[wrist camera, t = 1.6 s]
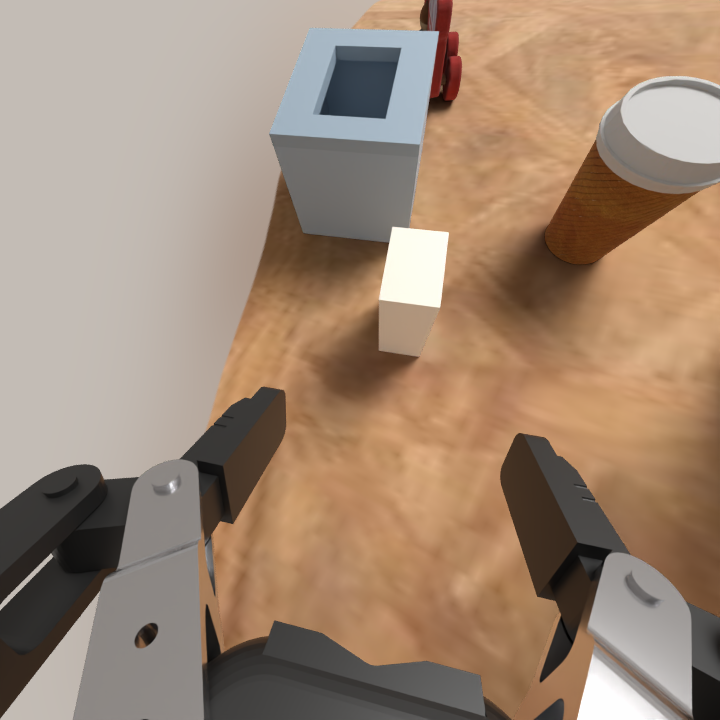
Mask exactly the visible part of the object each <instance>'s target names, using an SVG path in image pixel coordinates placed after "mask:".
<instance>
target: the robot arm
mask: <svg viewBox="0 0 720 720" xmlns="http://www.w3.org/2000/svg"><path fill="white" fill-rule="evenodd" d="M285 429H286V402H285V392H284V390H280V389H274V388H268V387H261V388H260V389H259V390H258V391H257V393H256V394H255V395H254V396H253V397H252V398H251V399H249V398H244V399H242V400H240V401H238V402H237V403H235V404H233V405H231V406H230V407H229V408H228V409H227V410H226V412H225V413H224V414H223V415H222V417H220V418H219V419H218V420H217V421H216V422H215V423H214V425H213V426H211V427H210V428H209V429H208V430H207V431H206V432H205V433H204V435H202V436H201V438H200V439H199V440H198V441H197V442H196V443H195V444H194V445H193V446H192V447H191V448H190V449H189V450H188V451H187V452H186V453H185V454H184V455H183V457H181V458H180V459H178V460H171V461H166V462H163V463H160V464H158V465H156V466H154V467H152V468H150V469H149V470H147V471H146V472H145V473H143V474H142V475H141V476H140V477H135V478H122V479H107V480H104V479H103V476H102V474H101V472H100V470H99V469H98V468H97V467H95V466H93V465H86V464H84V465H74V466H70V467H66V468H63V469H60V470H58V471H55V472H53V473H51V474H49V475H47V476H45V477H43V478H42V479H40V480H39V481H37V482H36V483H34V484H33V485H31V486H30V487H29V488H28V489H26V490H25V491H23V492H22V493H21V494H19V495H18V496H17V497H15V498H14V499H13V500H12V501H10V502H9V503H8V504H6V505H5V506H4V507H2V508H1V509H0V604H1V603H2V602H3V600H4V599H5V598H6V597H7V596H8V595H9V594H10V593H11V592H12V591H13V590H14V589H15V588H16V587H17V586H18V585H19V584H20V583H21V582H22V581H23V580H24V579H25V578H26V577H27V576H28V575H29V574H30V573H31V572H32V571H33V570H34V569H35V568H36V567H37V566H38V565H39V564H40V563H42V561H43V560H44V559H46V558H47V557H48V556H49V555H50V553H52V555H53V558H52V559H51V560H50V561H49V562H48V563H47V564H46V565H45V566H44V567H43V568H42V569H41V570H40V571H39V572H38V573H37V574H36V575H35V576H34V577H33V578H32V579H31V580H30V581H29V582H28V583H27V584H26V585H25V586H24V587H23V588H22V589H21V590H20V591H19V592H18V593H17V594H16V595H15V596H14V597H13V598H12V599H11V600H10V601H9V602H8V603H7V605H5V606H4V607H3V608H2V609H1V611H0V718H1V717H2V716H3V714H4V713H5V712H6V711H7V709H8V708H9V707H10V705H11V704H12V703H13V702H14V700H15V699H16V698H17V696H18V695H19V694H20V693H21V691H22V690H23V689H24V687H25V686H26V685H27V684H28V682H29V681H30V680H31V678H32V677H33V676H34V675H35V673H36V672H37V671H38V670H39V668H40V667H41V666H42V664H43V663H44V662H45V660H46V659H47V658H48V657H49V655H50V654H51V653H52V652H53V650H54V649H55V648H56V646H57V645H58V644H59V643H60V641H61V640H62V639H63V637H64V636H65V635H66V634H67V632H68V631H69V630H70V628H71V627H72V626H73V625H74V623H75V622H76V621H77V619H78V618H79V617H80V616H81V614H82V613H83V612H84V610H85V609H86V608H87V607H88V605H89V604H90V603H91V601H92V600H93V599H94V598H95V596H96V595H97V594H98V593H99V591H100V595H99V599H98V604H97V608H96V613H95V618H94V622H93V627H92V632H91V636H90V642H89V646H88V651H87V655H86V660H85V665H84V669H83V675H82V679H81V684H80V688H79V693H78V698H77V702H76V707H75V712H74V717H73V720H511V719H510V718H509V717H508V716H507V715H506V714H505V713H504V712H503V711H502V710H501V709H500V708H498V707H497V706H496V705H495V704H494V703H492V702H491V701H490V700H489V699H487V698H485V697H484V696H483V692H482V685H481V678H480V675H477V674H473V673H470V672H466V671H462V670H458V669H455V668H451V667H447V666H443V665H440V664H436V663H432V662H428V661H422V662H412V663H401V664H391V665H381V666H373V665H369V664H368V663H366V662H364V661H363V660H361V659H360V658H358V657H357V656H355V655H354V654H352V653H351V652H349V651H348V650H346V649H345V648H343V647H342V646H340V645H339V644H337V643H336V642H334V641H333V640H331V639H330V638H328V637H327V636H325V635H324V634H323V633H319V632H316V631H312V630H308V629H304V628H301V627H297V626H293V625H289V624H286V623H282V622H278V621H274V623H273V626H272V629H271V632H270V635H269V636H267V637H260V638H256V639H252V640H248V641H246V642H243V643H241V644H238V645H236V646H234V647H232V648H230V649H229V650H227V651H224V641H223V632H222V624H221V618H220V611H219V603H218V591H217V579H216V567H215V555H214V542H213V534H212V533H213V531H214V530H215V528H216V527H217V525H218V523H219V522H220V521H222V522H227V523H231V524H233V523H234V522H235V520H236V518H237V516H238V515H239V513H240V511H241V510H242V508H243V506H244V504H245V503H246V501H247V499H248V498H249V496H250V494H251V493H252V491H253V489H254V487H255V486H256V484H257V482H258V481H259V479H260V477H261V475H262V474H263V472H264V470H265V469H266V467H267V465H268V464H269V462H270V460H271V458H272V457H273V455H274V453H275V452H276V450H277V448H278V447H279V445H280V443H281V441H282V439H283V437H284V434H285ZM500 480H501V486H502V489H503V492H504V495H505V498H506V501H507V504H508V507H509V511H510V514H511V517H512V520H513V523H514V526H515V529H516V532H517V535H518V538H519V541H520V545H521V548H522V551H523V554H524V557H525V560H526V563H527V566H528V569H529V572H530V576H531V579H532V582H533V585H534V588H535V591H536V594H537V597H541V598H546V599H550V600H554V601H556V603H557V605H558V608H559V611H560V612H559V613H558V614H557V616H556V618H555V620H554V623H553V625H552V628H551V631H550V634H549V637H548V639H547V642H546V645H545V648H544V651H543V653H542V656H541V659H540V662H539V665H538V667H537V670H536V673H535V676H534V679H533V681H532V684H531V686H530V689H529V691H528V693H527V695H526V696H525V698H524V700H523V701H522V703H521V705H520V706H519V708H518V710H517V712H516V714H515V716H514V719H513V720H720V618H719V617H717V616H715V615H713V614H711V613H708V612H706V611H704V610H702V609H700V608H698V607H696V606H694V605H692V604H690V603H688V602H686V601H685V600H684V599H683V597H682V596H681V594H680V593H679V592H678V590H677V589H676V588H675V587H674V586H673V585H672V583H671V582H670V581H669V580H668V579H667V578H665V577H664V576H663V575H662V574H661V573H660V572H658V571H657V570H656V569H655V568H653V567H652V566H650V565H649V564H647V563H646V562H644V561H642V560H640V559H638V558H636V557H634V556H631V555H630V553H629V551H628V550H627V548H626V547H625V545H624V544H623V542H622V540H621V539H620V537H619V536H618V534H617V533H616V531H615V530H614V528H613V526H612V525H611V523H610V522H609V520H608V519H607V517H606V515H605V514H604V512H603V511H602V509H601V508H600V506H599V504H598V503H596V502H595V498H594V497H593V495H592V493H591V492H590V490H589V489H587V486H586V484H585V482H584V481H583V479H582V478H581V476H580V475H579V473H578V471H577V470H576V469H575V468H573V467H572V466H571V465H570V464H569V463H568V462H567V461H566V460H565V459H564V458H563V457H560V456H557V455H556V453H555V452H554V450H553V448H552V446H551V445H550V443H549V441H548V440H547V439H546V438H544V437H539V436H533V435H528V434H522V433H519V434H517V435H516V436H515V438H514V440H513V443H512V445H511V447H510V449H509V452H508V454H507V456H506V458H505V461H504V463H503V465H502V468H501V474H500ZM116 569H117V570H116Z"/></svg>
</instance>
